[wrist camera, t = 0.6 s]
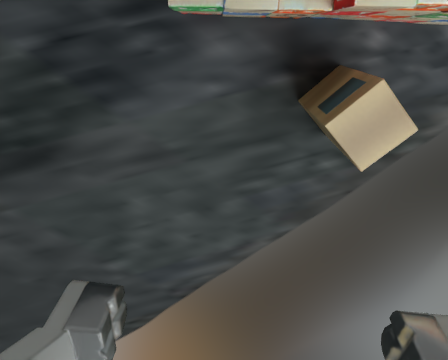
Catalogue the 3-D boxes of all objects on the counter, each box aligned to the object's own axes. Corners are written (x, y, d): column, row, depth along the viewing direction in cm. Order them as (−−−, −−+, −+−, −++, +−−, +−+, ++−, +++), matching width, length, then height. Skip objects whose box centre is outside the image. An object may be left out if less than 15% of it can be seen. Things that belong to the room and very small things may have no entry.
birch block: (295, 98, 30) (323, 125, 22) (336, 63, 29) (383, 77, 20) (324, 134, 31) (361, 172, 23) (364, 102, 30) (419, 130, 22)
